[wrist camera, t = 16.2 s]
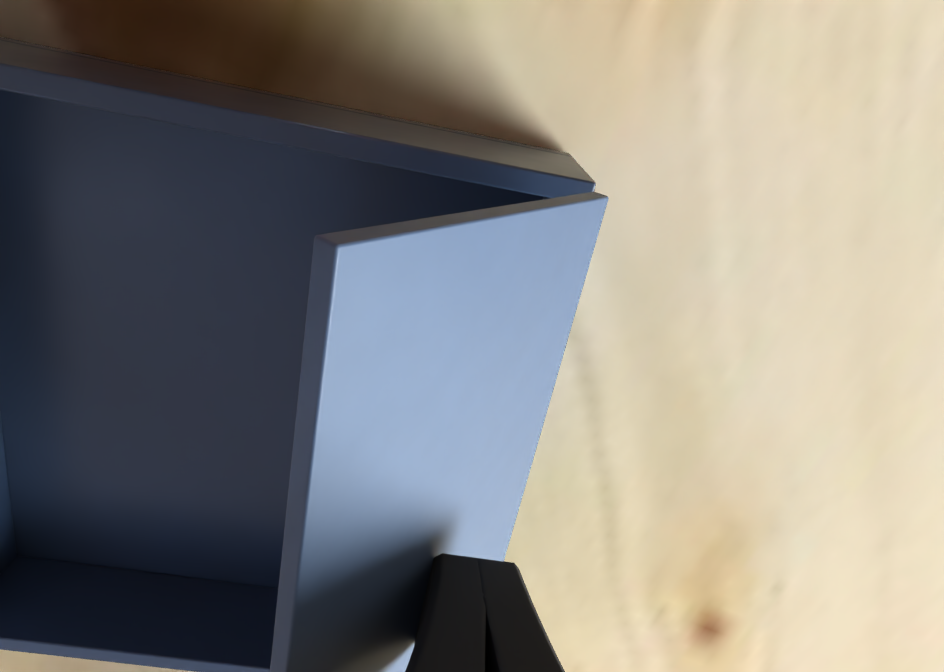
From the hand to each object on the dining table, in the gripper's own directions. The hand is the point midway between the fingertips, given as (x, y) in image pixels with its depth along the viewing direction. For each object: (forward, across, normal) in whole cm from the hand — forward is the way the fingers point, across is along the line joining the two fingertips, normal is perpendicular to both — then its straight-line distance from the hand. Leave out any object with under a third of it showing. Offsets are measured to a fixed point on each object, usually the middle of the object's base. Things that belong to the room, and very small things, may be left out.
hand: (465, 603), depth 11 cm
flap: (0, +1, 0) cm, 1 cm away
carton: (+6, +5, 0) cm, 8 cm away
